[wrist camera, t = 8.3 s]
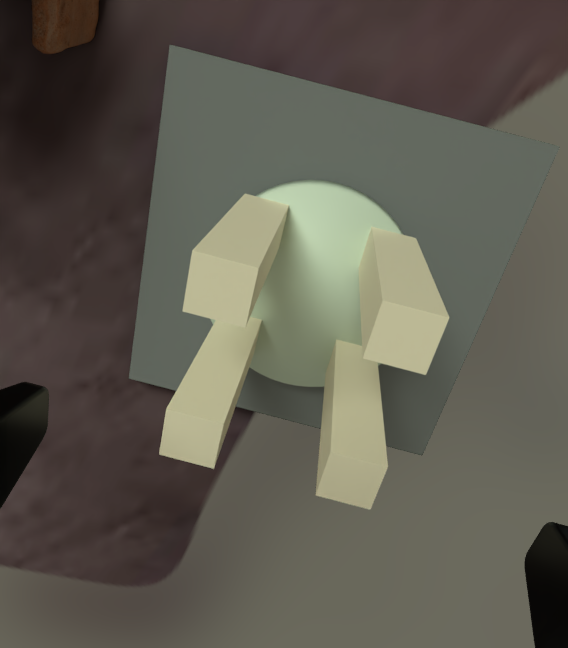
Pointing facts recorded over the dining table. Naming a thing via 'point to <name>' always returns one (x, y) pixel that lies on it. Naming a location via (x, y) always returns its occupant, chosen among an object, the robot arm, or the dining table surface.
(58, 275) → the dining table surface
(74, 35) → the brown curved piece
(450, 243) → the mat
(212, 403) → the stool
